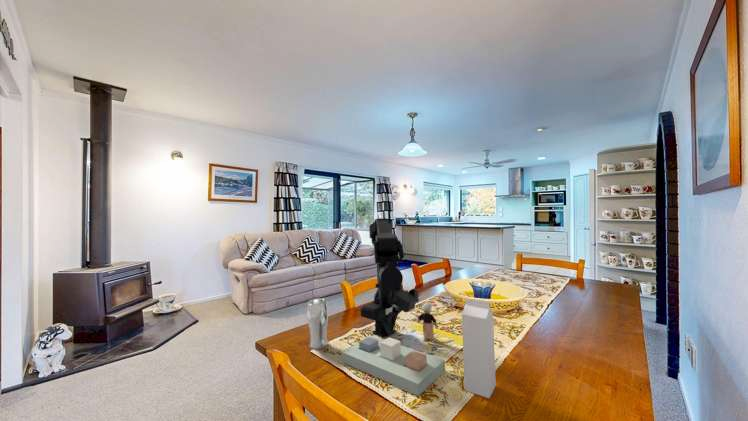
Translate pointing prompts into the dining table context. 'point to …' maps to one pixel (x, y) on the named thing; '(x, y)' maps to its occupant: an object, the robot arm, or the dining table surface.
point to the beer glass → (318, 322)
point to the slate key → (368, 344)
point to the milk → (478, 347)
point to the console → (395, 368)
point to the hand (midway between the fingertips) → (390, 333)
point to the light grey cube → (390, 349)
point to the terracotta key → (416, 361)
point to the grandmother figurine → (427, 323)
